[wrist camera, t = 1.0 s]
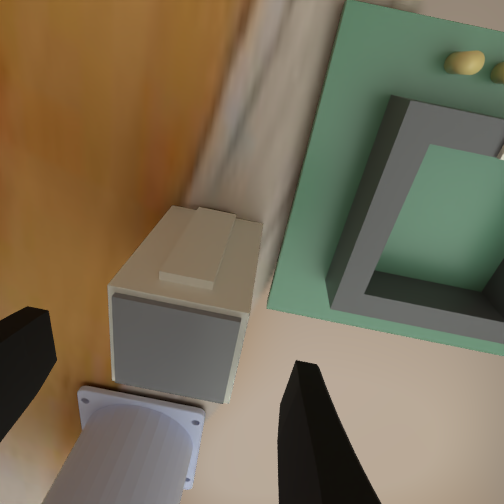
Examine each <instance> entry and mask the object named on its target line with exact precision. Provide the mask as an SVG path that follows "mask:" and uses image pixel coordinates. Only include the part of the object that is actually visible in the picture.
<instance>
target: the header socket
mask: <svg viewBox="0 0 504 504" xmlns="http://www.w3.org/2000/svg"><path fill="white" fill-rule="evenodd" d="M267 309H272V310H277V311H282V312H287V313H292V314H297V315H302V316H307V317H311V318H316V319H321V320H327V321H331V322H336V323H342V324H346V325H352V326H356V327H361V328H366V329H371V330H376V331H381V332H387V333H391V334H396V335H401V336H406V337H412V338H416V339H421V340H426V341H431V342H436V343H441V344H446V345H451V346H456V347H461V348H466V349H470V350H476V351H481V352H485V353H491V354H495V355H500V356H504V32H501V31H496V30H492V29H487V28H482V27H477V26H473V25H468V24H463V23H459V22H454V21H449V20H444V19H439V18H435V17H430V16H425V15H421V14H416V13H411V12H407V11H402V10H397V9H392V8H388V7H383V6H378V5H373V4H369V3H364V2H359V1H355V0H346V1H345V2H344V6H343V10H342V13H341V17H340V21H339V25H338V29H337V33H336V37H335V40H334V44H333V48H332V52H331V56H330V60H329V64H328V68H327V71H326V75H325V79H324V83H323V87H322V91H321V95H320V99H319V102H318V106H317V110H316V114H315V118H314V122H313V126H312V130H311V133H310V137H309V141H308V145H307V149H306V153H305V157H304V160H303V164H302V168H301V172H300V176H299V180H298V184H297V188H296V191H295V195H294V199H293V203H292V207H291V211H290V215H289V219H288V222H287V226H286V230H285V234H284V238H283V242H282V246H281V249H280V253H279V257H278V261H277V265H276V269H275V273H274V277H273V280H272V284H271V288H270V292H269V296H268V300H267Z"/></svg>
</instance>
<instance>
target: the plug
mask: <svg viewBox="0 0 504 504" xmlns="http://www.w3.org/2000/svg"><path fill="white" fill-rule="evenodd" d="M262 229H263V224H262V223H257V222H252V221H247V220H242V219H238V218H236V214H231V213H226V212H221V211H217V210H212V209H207V208H202V207H199V208H198V209H197V210H193V209H189V208H184V207H179V206H174V205H172V206H171V208H170V209H169V210H168V211H167V213H166V214H165V215H164V216H163V217H162V219H161V220H160V221H159V222H158V224H157V225H156V226H155V227H154V229H153V230H152V231H151V232H150V233H149V235H148V236H147V237H146V238H145V240H144V241H143V242H142V243H141V244H140V246H139V247H138V248H137V249H136V251H135V252H134V253H133V254H132V256H131V257H130V258H129V259H128V260H127V262H126V263H125V264H124V265H123V267H122V268H121V269H120V270H119V272H118V273H117V274H116V275H115V276H114V278H113V279H112V280H111V281H110V283H109V284H108V306H109V326H110V347H111V367H112V380H113V381H115V383H120V384H125V385H130V386H135V387H140V388H145V389H150V390H155V391H160V392H165V393H170V394H175V395H180V396H185V397H190V398H195V399H200V400H205V401H210V402H215V403H220V404H223V403H228V404H229V402H230V398H231V393H232V389H233V385H234V380H235V376H236V372H237V367H238V363H239V359H240V354H241V350H242V346H243V341H244V337H245V333H246V328H247V324H248V320H249V315H250V309H251V303H252V296H253V289H254V282H255V276H256V269H257V262H258V255H259V249H260V242H261V235H262Z"/></svg>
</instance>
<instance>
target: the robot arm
mask: <svg viewBox="0 0 504 504" xmlns="http://www.w3.org/2000/svg"><path fill="white" fill-rule="evenodd" d="M56 361H57V357H56V351H55V345H54V339H53V334H52V328H51V322H50V316H49V311H48V310H43V309H38V308H33V307H28V306H27V307H25V308H23V309H21V310H19V311H17V312H15V313H13V314H12V315H10V316H8V317H6V318H4V319H2V320H0V442H1V441H2V439H3V438H4V437H5V435H6V434H7V433H8V432H9V430H10V429H11V428H12V426H13V425H14V424H15V422H16V421H17V420H18V418H19V417H20V416H21V414H22V413H23V412H24V411H25V409H26V408H27V407H28V405H29V404H30V403H31V401H32V400H33V399H34V397H35V396H36V394H37V393H38V391H39V390H40V388H41V386H42V385H43V383H44V382H45V380H46V378H47V377H48V375H49V373H50V371H51V370H52V368H53V366H54V364H55V363H56ZM77 396H78V404H79V411H80V419H81V427H82V432H81V434H80V436H79V438H78V439H77V441H76V443H75V445H74V446H73V448H72V450H71V452H70V454H69V455H68V457H67V459H66V461H65V463H64V464H63V466H62V468H61V470H60V472H59V473H58V475H57V477H56V479H55V481H54V482H53V484H52V486H51V488H50V490H49V491H48V493H47V495H46V497H45V498H44V500H43V502H42V504H180V500H181V496H182V492H183V489H187V490H188V489H191V488H192V486H193V482H194V476H195V470H196V465H197V459H198V453H199V448H200V442H201V437H202V431H203V425H204V420H205V411H204V410H203V409H201V408H197V407H192V406H187V405H182V404H177V403H172V402H167V401H162V400H157V399H152V398H147V397H142V396H137V395H132V394H127V393H122V392H116V391H111V390H106V389H101V388H96V387H91V386H81V387H80V389H79V390H78V392H77ZM277 442H278V443H277V444H278V486H279V504H381V502H380V500H379V498H378V497H377V495H376V493H375V491H374V489H373V487H372V486H371V483H370V482H369V480H368V478H367V476H366V474H365V472H364V470H363V468H362V466H361V464H360V462H359V460H358V458H357V456H356V454H355V452H354V450H353V448H352V445H351V443H350V441H349V439H348V437H347V435H346V432H345V430H344V428H343V426H342V424H341V421H340V419H339V417H338V415H337V412H336V410H335V407H334V405H333V403H332V400H331V398H330V395H329V393H328V390H327V388H326V385H325V382H324V380H323V377H322V374H321V372H320V369H319V367H318V366H317V364H312V363H307V362H302V361H297V360H296V361H295V364H294V367H293V370H292V373H291V375H290V378H289V381H288V384H287V387H286V390H285V393H284V395H283V398H282V401H281V403H280V413H279V426H278V440H277Z"/></svg>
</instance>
